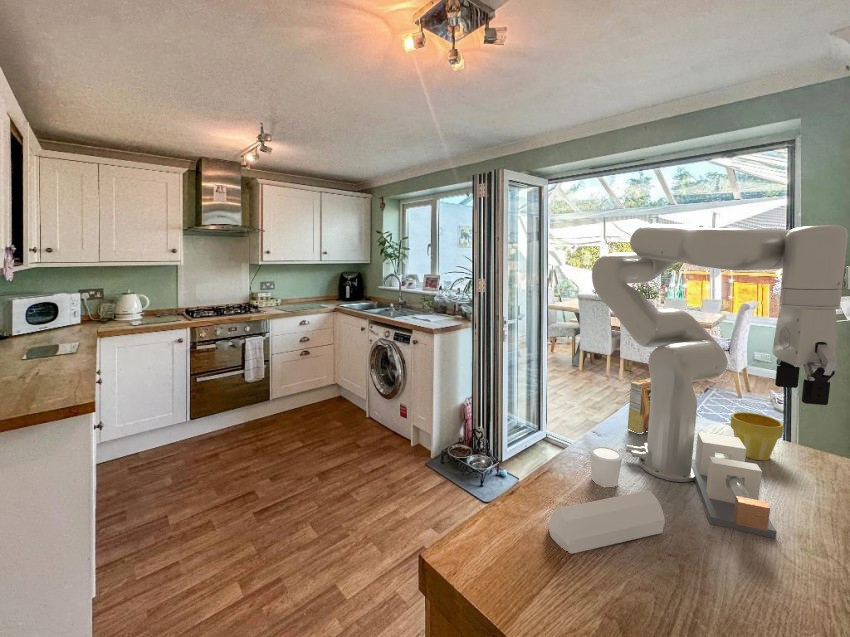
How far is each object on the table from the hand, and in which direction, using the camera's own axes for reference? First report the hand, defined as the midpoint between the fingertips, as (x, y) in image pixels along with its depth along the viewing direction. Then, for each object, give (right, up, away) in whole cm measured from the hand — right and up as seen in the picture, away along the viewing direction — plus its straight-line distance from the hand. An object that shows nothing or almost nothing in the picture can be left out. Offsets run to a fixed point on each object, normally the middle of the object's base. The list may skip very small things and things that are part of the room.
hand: (799, 394), depth 70 cm
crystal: (-32, -28, +5) cm, 43 cm away
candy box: (-1, -20, +48) cm, 52 cm away
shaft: (-4, -22, +9) cm, 25 cm away
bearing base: (-1, -25, +16) cm, 30 cm away
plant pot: (+19, -22, +33) cm, 45 cm away
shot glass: (-25, -25, +22) cm, 41 cm away
